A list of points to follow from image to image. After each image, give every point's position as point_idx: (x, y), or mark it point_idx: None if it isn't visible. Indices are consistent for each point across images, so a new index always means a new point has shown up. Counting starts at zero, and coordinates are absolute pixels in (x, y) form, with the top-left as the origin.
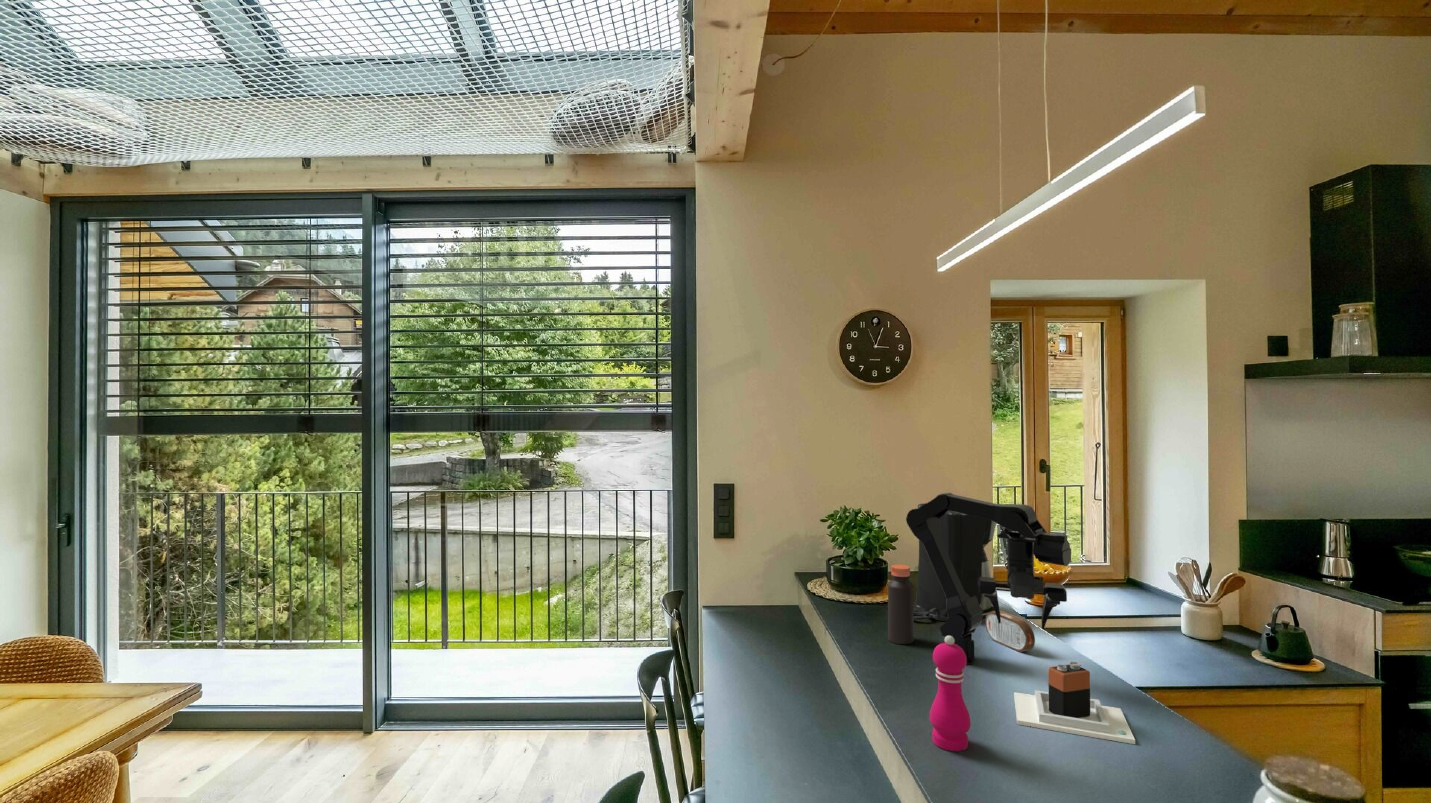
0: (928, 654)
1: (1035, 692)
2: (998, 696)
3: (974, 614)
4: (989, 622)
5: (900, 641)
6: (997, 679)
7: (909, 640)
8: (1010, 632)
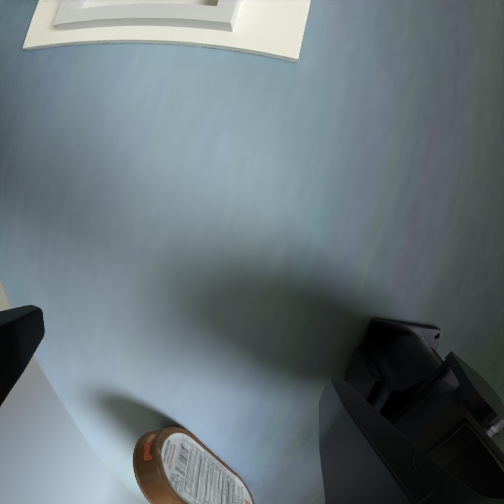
0: None
1: (234, 4)
2: (351, 53)
3: (439, 451)
4: None
5: None
6: (320, 202)
7: None
8: (200, 480)
